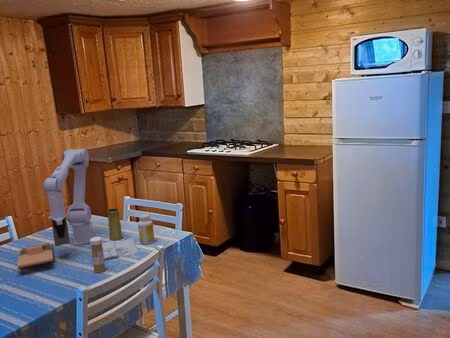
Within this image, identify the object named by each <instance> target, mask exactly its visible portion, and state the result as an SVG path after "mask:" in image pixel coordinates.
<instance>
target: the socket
mask: <svg viewBox="0 0 450 338" xmlns="http://www.w3.org/2000/svg"><path fill="white" fill-rule="evenodd" d="M41 245H42V248H43V251H47V250H52V255H53V261H48V262H44V263H39V264H34V265H29V266H24V267H19V268H18V269H24V268H28V267H33V266H38V265H42V264H49V263H52V262H55V250H54V244H53V243H51V244H50V243H44V244H39V245H33V246H32V247H36V246H41ZM30 247H31V246H28V247H24V248H21V249H20V250H19V255H18V256H22V255H27V250H26V249H27V248H30Z"/></svg>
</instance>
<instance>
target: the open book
mask: <svg viewBox="0 0 450 338" xmlns="http://www.w3.org/2000/svg"><path fill="white" fill-rule="evenodd" d="M102 247H103V254H104V261H106V260H111V259H119V258H122V257H128V256H132V255H134V256H135V255H137V254H140V251H139V250H138V249H139V248H138V246H137V244H136V239H135V238H134V237H133V238H129V239H126V240H125V239H124V240H118V241H112V240H110V241H108V242H104V243H103V242H102ZM90 249H91V248H90ZM90 251H91V252H90V253H92V249H91V250H90Z"/></svg>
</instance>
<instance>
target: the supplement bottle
mask: <svg viewBox="0 0 450 338" xmlns="http://www.w3.org/2000/svg"><path fill="white" fill-rule="evenodd" d="M138 217H139V221H138V223H137V228H138V236H139V243H140V244H141V245H151V244H152V243H154V242H155V231H154V224H153V223H154V222H153V221H152V219H150V218H151V215H150V214H148V213H143V214H141V215H139V216H138Z"/></svg>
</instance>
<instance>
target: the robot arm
mask: <svg viewBox="0 0 450 338" xmlns="http://www.w3.org/2000/svg"><path fill="white" fill-rule="evenodd" d="M89 160H90V154H89V152H88V150H87V149H86V148H78V149H77V148H76V149H74V148H73V149H69V148H67V149H65V150H64V152H63V160H62V162H61V164H60V166H57V167H56V168H55V169H54V171H53V172H52V174H51V175H50V177H47V178H46V179H45V180H44V182H43V186H42V187H43V190H44V191H45V195H46V196H47V199H48V205H49V211H50V216H48V217H47V218H48V220H51V222H52V226H54V228H55V229H56V232H57V234H58V237H59V238H64V236H65V226H66V223H67V224H70V226H71V227H72V234H73V236H72V237H73V239H72V242H73V246H79V245H83V244H88V243H89V244H90V239H91V238H94V237H96V234H95V231H94V228H95V227H94V223H93V221H91V219H92V212H91V207H90V206H89V205H88V204H86V202H85V199H86V175H87V174H86V171H87V168H88V167H89V163H90V161H89ZM70 168H71V169H73V170H74V177H73V178H74V182H73V183H74V184H73V203H72V204H70V205H69V206H68V209H67V213H66V209H65V202H64V196H63V190H64V188H65V183H66V182H65V181H66V179H67V178H68V176H69V170H70Z"/></svg>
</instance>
